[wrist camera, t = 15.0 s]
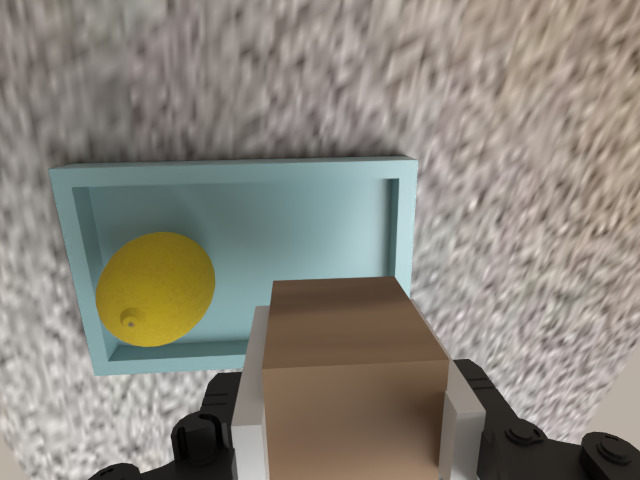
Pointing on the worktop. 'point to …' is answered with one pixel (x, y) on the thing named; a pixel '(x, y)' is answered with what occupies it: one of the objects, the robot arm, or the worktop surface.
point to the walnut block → (351, 382)
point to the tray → (234, 237)
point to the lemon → (155, 289)
